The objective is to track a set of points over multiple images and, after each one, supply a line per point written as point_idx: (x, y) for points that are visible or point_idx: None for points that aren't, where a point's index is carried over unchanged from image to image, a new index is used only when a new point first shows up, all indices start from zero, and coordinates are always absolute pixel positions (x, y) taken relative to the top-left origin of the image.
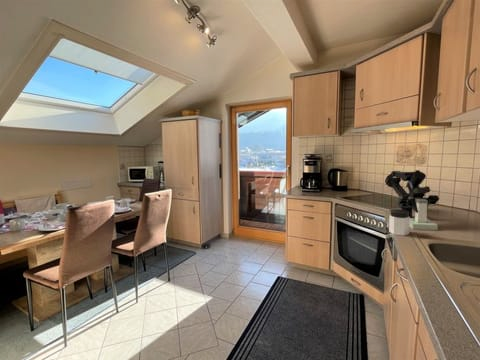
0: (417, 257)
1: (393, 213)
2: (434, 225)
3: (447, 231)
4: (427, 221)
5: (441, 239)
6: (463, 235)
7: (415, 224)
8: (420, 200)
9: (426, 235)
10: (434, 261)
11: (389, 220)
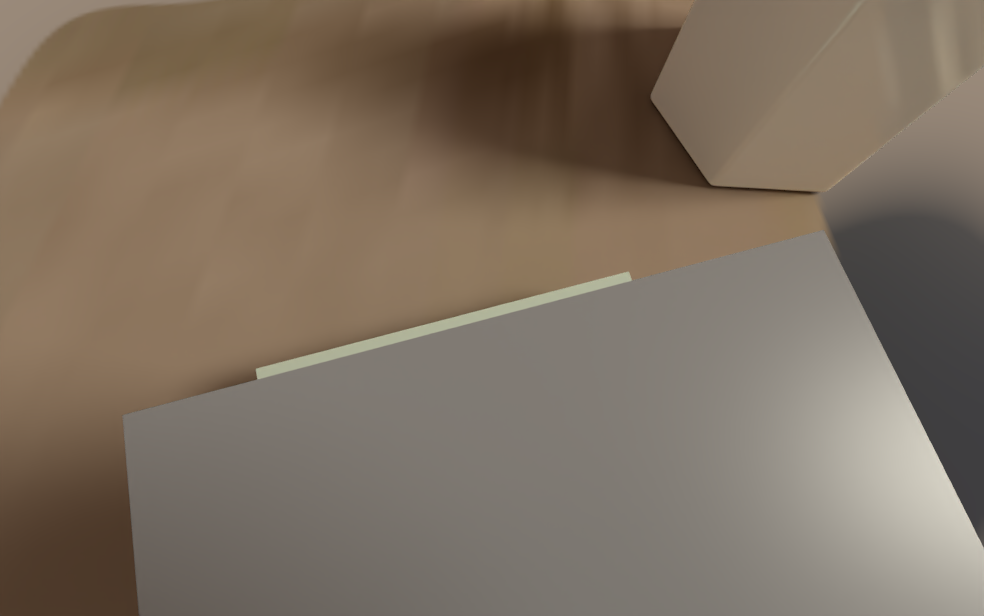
0: None
1: None
2: (309, 360)
3: (169, 375)
4: None
5: (338, 43)
6: (32, 264)
7: (592, 282)
8: (703, 341)
9: (467, 118)
10: None
11: None
